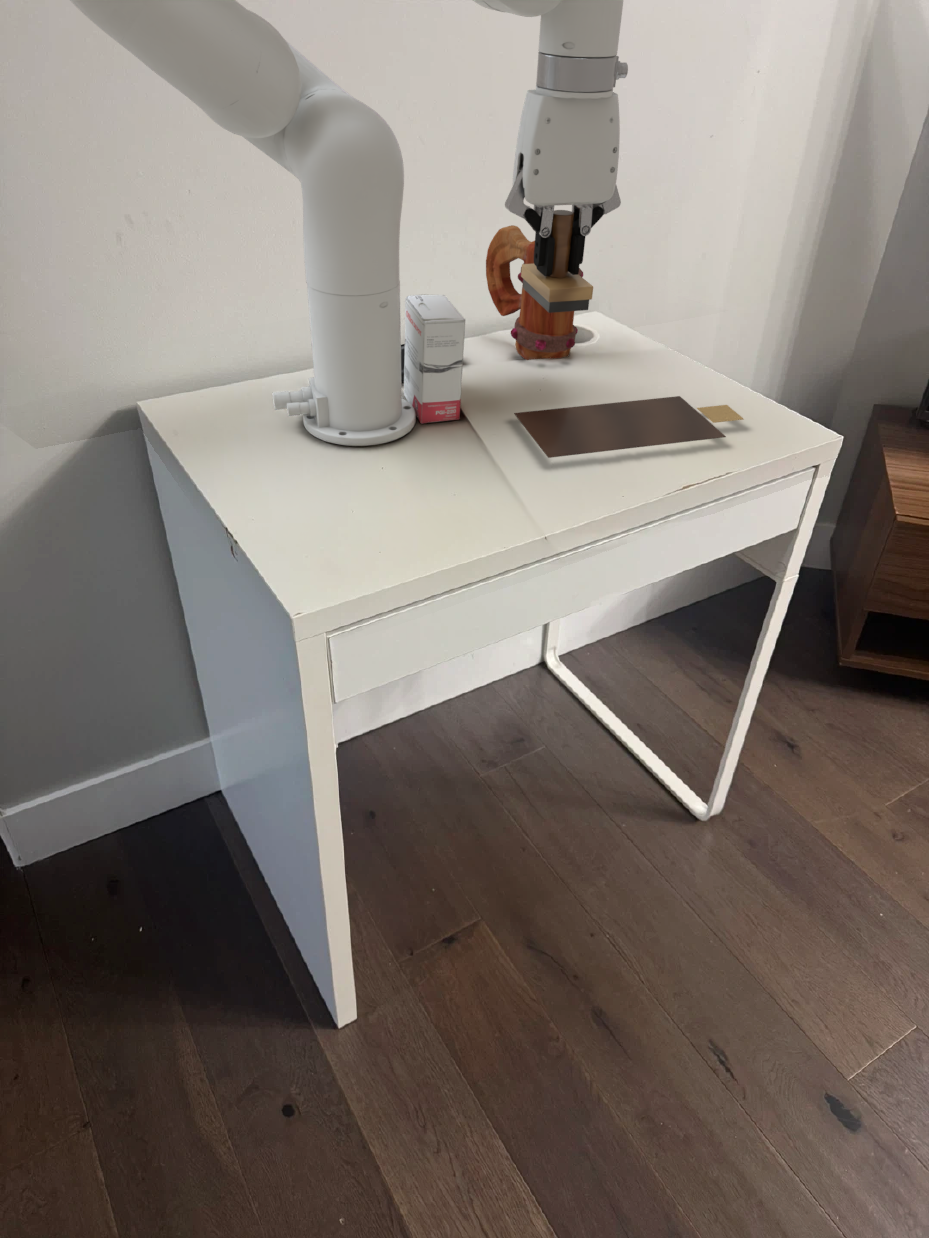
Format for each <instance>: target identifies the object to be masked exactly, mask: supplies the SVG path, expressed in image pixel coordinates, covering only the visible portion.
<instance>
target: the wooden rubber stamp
mask: <svg viewBox="0 0 929 1238" xmlns="http://www.w3.org/2000/svg"><path fill="white" fill-rule="evenodd" d="M573 218H574V213H573V212H572V210H565V209H554V213H553V221H552V229H551V230H552V235H551V236H552V237H553V238H554V239H555V248H554V259H553V270H552V275H550V276H544V275H543V274H542V273H541V272H539V271H538V270H537V268H536V266H535V264H523V263H522V264H521V267H522V271H521V270H520V272H521V277H522V278H523V283H522V285H523V289H524V290H525V291H527V292H528V293H529V294H530V295H531V296H532V297H533V298H534V299H535V300H536V301H537V302H538V303H539V304H540V305H541V306H542V307H543V308H544V309H546V310H547V311H548V312H549V313H554V312H568V311H574V312H580V311H588V310H589V306H590V300H593V294H594V285H592V283H590V282H588V281H587V280H586V279H585V278H584V277H581V276H580V275H572V274H571V273H570V272H568V267H569V257H570V247H571V238H572V228H573Z"/></svg>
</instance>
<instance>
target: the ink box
mask: <svg viewBox="0 0 929 1238" xmlns="http://www.w3.org/2000/svg"><path fill="white" fill-rule="evenodd" d="M404 302H405V304H404V344H405V359H404V382H403V395H404V397H405V400H407V401H408V402H409V403H410V404H411V405H412V406H413V407H414V409H415V413H416V418H417V420H418V421H419V423H420V424H427V423H428V424H429V423H438V422H448V421H457V420H460V418H461V417H460V416H461V404H462V403H461V399H462V386H463V385H462V383H463V382H462V381H463V366H464V351H465V335H466V318H465V317H464V316H463V315H462V314H461V313H460V312H459V310H458V309H457V308H456V306H454V304H453V303H452V302H451V300H449V298H448V297H447V296H446V295H445V294H427V293H425V294H423V293H422V294H410V295H407V296H406V297H405V300H404Z"/></svg>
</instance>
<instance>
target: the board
mask: <svg viewBox="0 0 929 1238" xmlns="http://www.w3.org/2000/svg"><path fill="white" fill-rule="evenodd" d="M514 415H515V417H516V418H517V419H518V421H519V422H520V423H521V424H522V426H523V428H525V430H526V431H527V432H528V434H529V435H530V436H531V438H532V439H533V440H534V441H535V443H536V444H537V445H538V447H539V448H540V449H541V451H542V452H543V454H544V455H545V456H546V457H547V458H548V459H550V458H560V457H566V456H575V455H576V456H577V455H584V454H593V453H601V452H609V451H620V450H628V449H636V448H637V449H638V448H644V447H653V446H662V445H671V444H678V443H679V444H680V443H688V442H697V441H705V440H711V439H721V438H727V436H726V435H725V434H724V433H723V432H722V431H721V430H719V429H718V428H717V427H716V426H715V425H714V424H713V423H711V422H710V421H709V419H708V418H706V417H704V416H703V414H702V413H701V412H700V411H697V410H696V408H694V407H693V406H692V405H691V404H690V403H688V402H687V401H686V400H685V399H684V398H683V397H681V396H680V395H677V396H667V397H658V398H657V397H656V398H648V399H637V400H628V401H617V402H609V403H600V404H599V403H597V404H589V405H580V406H567V407H559V408H551V409H550V408H549V409H541V410H530V411H521V412H514Z"/></svg>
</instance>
